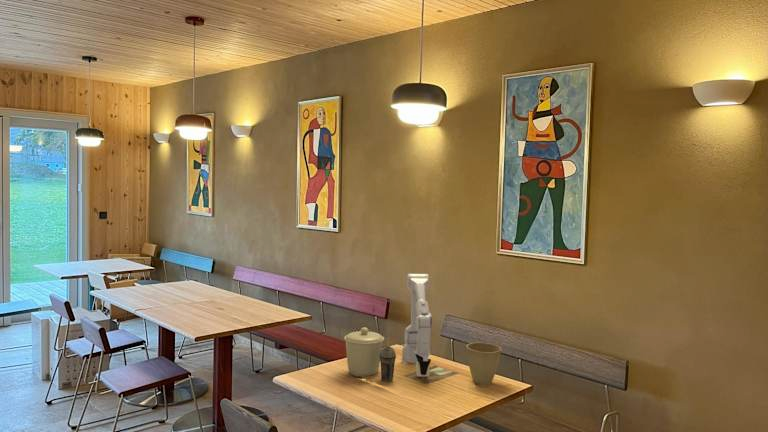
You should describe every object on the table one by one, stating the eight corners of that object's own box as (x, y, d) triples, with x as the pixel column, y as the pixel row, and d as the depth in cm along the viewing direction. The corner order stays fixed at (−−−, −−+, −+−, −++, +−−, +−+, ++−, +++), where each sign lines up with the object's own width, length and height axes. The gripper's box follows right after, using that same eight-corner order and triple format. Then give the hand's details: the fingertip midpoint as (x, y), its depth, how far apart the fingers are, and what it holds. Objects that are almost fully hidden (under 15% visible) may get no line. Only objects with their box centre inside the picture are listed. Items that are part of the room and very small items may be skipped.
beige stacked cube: (415, 372, 247) (416, 361, 246) (427, 372, 247) (427, 361, 247) (417, 376, 242) (418, 365, 241) (429, 376, 242) (429, 365, 242)
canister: (340, 368, 258) (342, 323, 257) (379, 366, 261) (380, 322, 260) (345, 381, 240) (347, 333, 239) (386, 379, 244) (388, 332, 243)
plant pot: (461, 385, 239) (462, 348, 238) (470, 375, 252) (471, 340, 252) (495, 391, 233) (497, 354, 232) (503, 381, 246) (504, 345, 245)
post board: (402, 378, 246) (403, 367, 246) (434, 368, 261) (435, 358, 261) (427, 386, 236) (427, 375, 236) (458, 375, 252) (459, 365, 251)
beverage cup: (396, 380, 243) (397, 334, 243) (394, 385, 236) (396, 339, 235) (379, 379, 244) (380, 334, 243) (377, 384, 237) (378, 338, 236)
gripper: (412, 337, 251) (411, 367, 251) (416, 346, 236) (415, 378, 237) (427, 337, 251) (426, 367, 252) (433, 346, 237) (432, 377, 237)
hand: (422, 372), depth 244 cm, fingers closed on beige stacked cube, 5 cm apart
